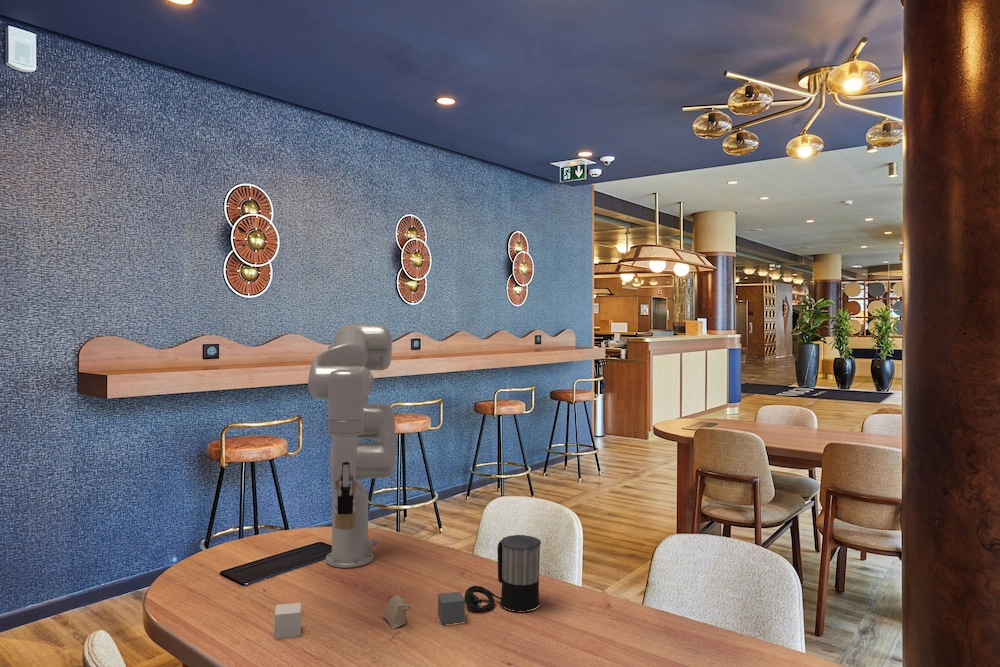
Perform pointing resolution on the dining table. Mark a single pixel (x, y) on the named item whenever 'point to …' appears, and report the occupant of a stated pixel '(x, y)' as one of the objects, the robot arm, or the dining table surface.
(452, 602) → the charcoal block
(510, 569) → the milk frother
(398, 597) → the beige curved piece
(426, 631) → the dining table surface
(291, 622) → the off-white block
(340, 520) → the sprinkles bottle
